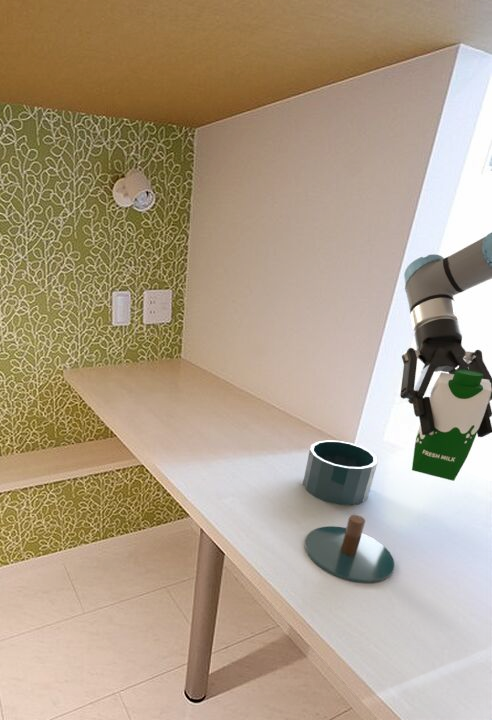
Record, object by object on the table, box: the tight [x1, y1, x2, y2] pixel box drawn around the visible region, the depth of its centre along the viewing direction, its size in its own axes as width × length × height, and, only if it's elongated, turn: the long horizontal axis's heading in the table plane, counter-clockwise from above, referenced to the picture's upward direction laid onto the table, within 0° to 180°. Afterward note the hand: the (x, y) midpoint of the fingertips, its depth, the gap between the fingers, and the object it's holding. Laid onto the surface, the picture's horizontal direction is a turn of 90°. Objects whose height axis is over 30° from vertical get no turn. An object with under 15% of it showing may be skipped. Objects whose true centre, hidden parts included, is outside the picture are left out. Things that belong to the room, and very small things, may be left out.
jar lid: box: [304, 514, 395, 584], centre depth 77 cm, size 15×15×8 cm
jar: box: [302, 439, 378, 506], centre depth 97 cm, size 14×14×10 cm
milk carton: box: [411, 368, 492, 482], centre depth 81 cm, size 9×9×20 cm
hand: (456, 433), depth 79 cm, fingers closed on milk carton, 9 cm apart
